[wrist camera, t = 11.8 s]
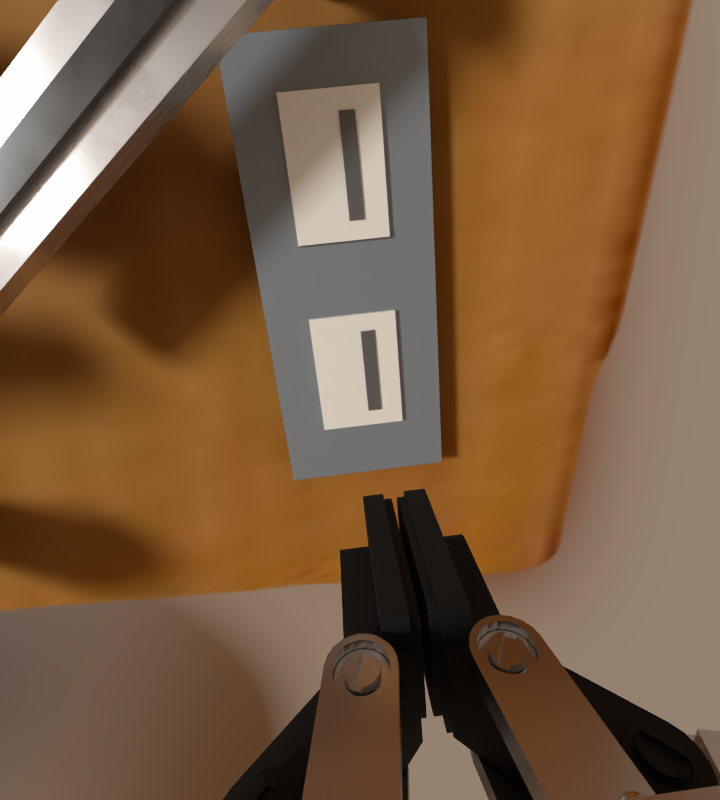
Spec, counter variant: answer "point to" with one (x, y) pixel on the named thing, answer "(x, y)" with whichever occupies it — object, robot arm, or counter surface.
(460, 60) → the counter surface
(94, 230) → the counter surface
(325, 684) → the robot arm
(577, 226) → the counter surface
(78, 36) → the swing arm
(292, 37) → the label board
